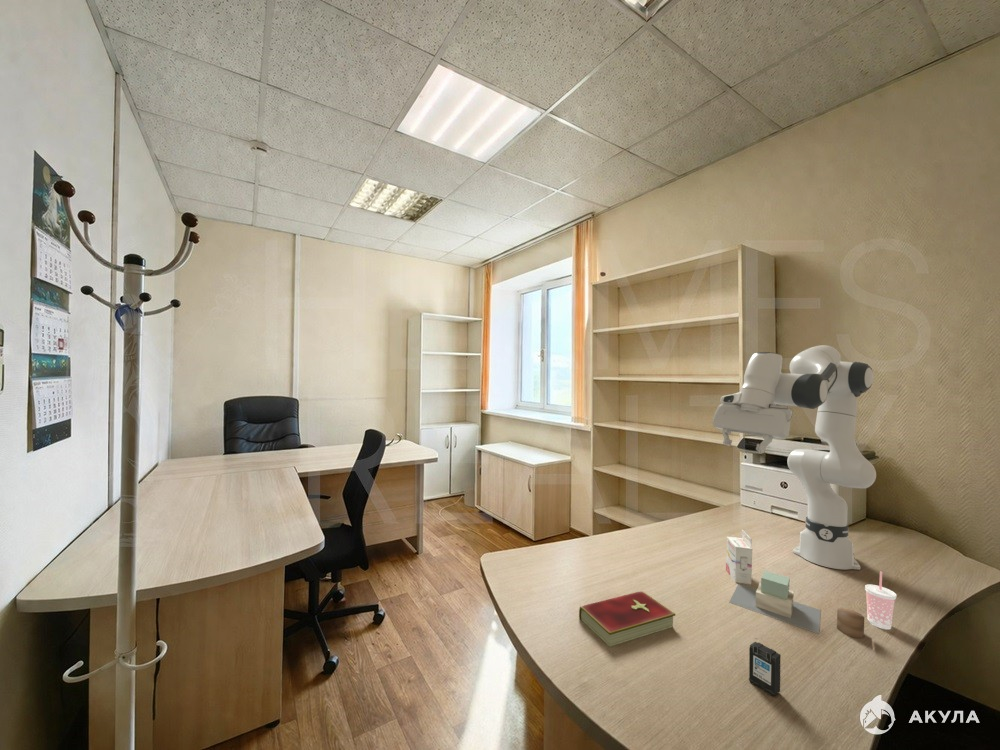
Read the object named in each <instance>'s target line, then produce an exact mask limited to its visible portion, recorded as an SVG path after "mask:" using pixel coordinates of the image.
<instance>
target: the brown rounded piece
mask: <svg viewBox="0 0 1000 750" xmlns="http://www.w3.org/2000/svg"><path fill="white" fill-rule="evenodd" d="M836 611H837V615H836V629H837V630H838V631H839V632H841V633H842V634H843V635H846V636H848V637H851V638H855V639H863V638H864V637H865V636H864V635H865V616H863V614H861V613H859V612H858V611H855V610H853V609H849V608H846V607H845V608H844V607H838V608H837V610H836Z"/></svg>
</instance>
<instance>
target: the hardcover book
mask: <svg viewBox="0 0 1000 750" xmlns="http://www.w3.org/2000/svg"><path fill="white" fill-rule="evenodd" d="M675 616H676V613H675V612H673V611H672V610H671V609H670V608H668V607H666V606H665V605H663V604H662V603H661V602H660V601H658V600H656V599H655V598H653V597H651V596H650V595H649V594H647V593H646V592H645V591H643V590H640V591H637V592H632V593H628V594H624V595H621V596H616V597H612V598H609V599H604V600H600V601H596V602H592V603H589V604H585V605H580V606H579V611H578V619H579V620H580V621H582V622H583V623H584V624H585V625H587V627H588V628H589V629H590V630H591V631H592V632H594V633H595V634H596V635H597V637H599V638H600V639H601V640H602V641H603V642H604V643H605V644H606V645H607V646H608V647H614V646H616V645H620V644H624V643H626V642H629V641H632V640H635V639H639V638H642V637H645V636H648V635H651V634H655V633H658V632H661V631H664V630H668V629H670V628H673V626H674V617H675Z"/></svg>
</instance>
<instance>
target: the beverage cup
mask: <svg viewBox="0 0 1000 750" xmlns="http://www.w3.org/2000/svg"><path fill="white" fill-rule="evenodd" d="M878 584H879V585H876V584H865V585H864V590H865V591H866V594H865V595H866V611H867V612H866V613H867V617H866V618H867V620H868V621H869V624H871V625H872V626H873V627H876V628H880V629H881V630H891V629H892V624H893V616H894V609H895V601H896V599H897V593H895V592H894V591H893V590H891V589H889V588H887V587H885V586H883V571H881V570H880V571H879V583H878Z"/></svg>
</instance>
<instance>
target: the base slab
mask: <svg viewBox="0 0 1000 750" xmlns="http://www.w3.org/2000/svg"><path fill="white" fill-rule="evenodd" d="M794 594H795V591H793V590H790V589H789V594H788V598H787V600H784V599H781V598H778V597H775V596H772V595H769V594H765V593H762V592H761V580H760V582H759V583H758V587H757V591H756V607H759V608H762V609H765V610H768V611H771V612H774V613H776V614H779V615H782V616H785V617H788V618H791V615H792V610H793V602H795V601H794V598H795V595H794Z"/></svg>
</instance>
